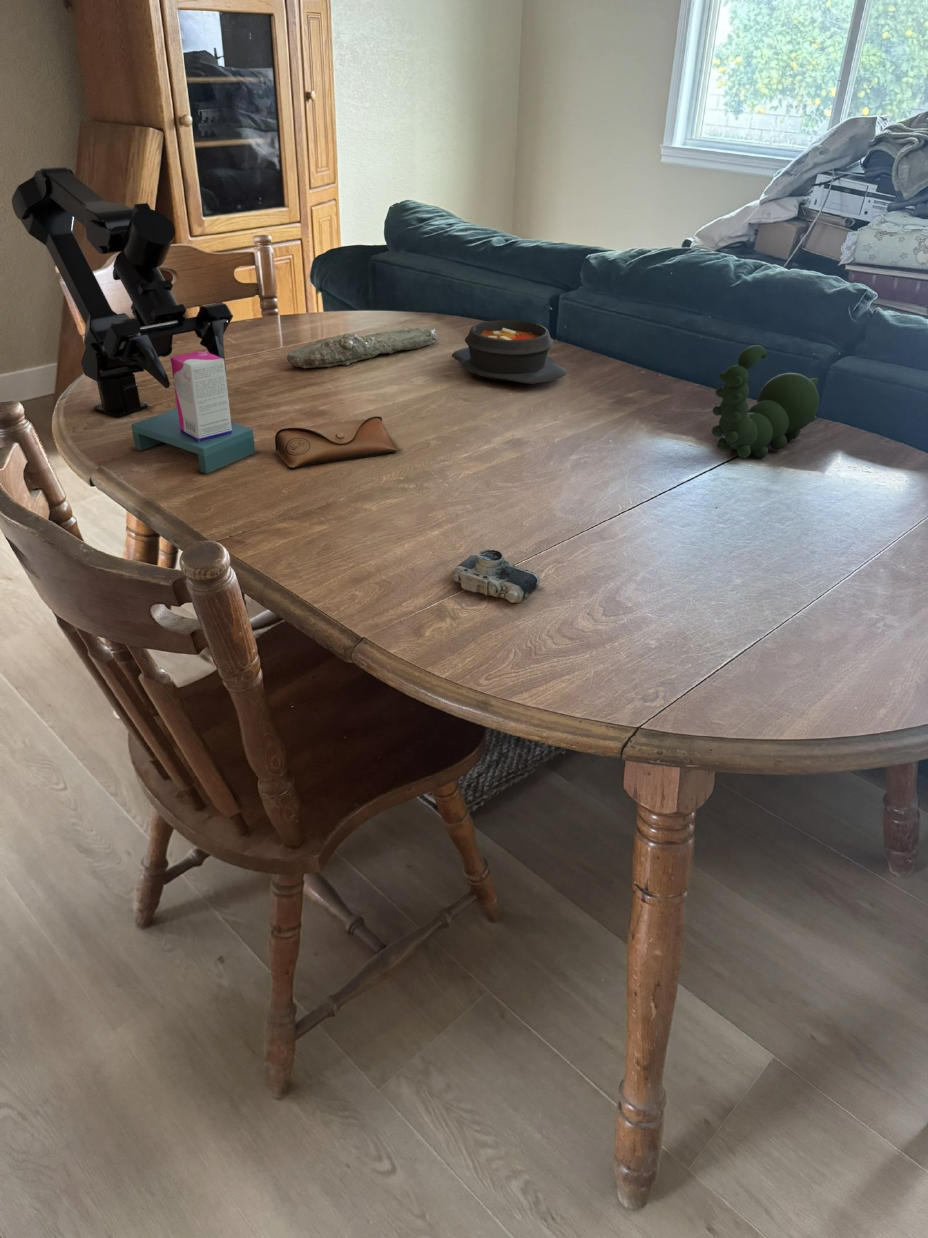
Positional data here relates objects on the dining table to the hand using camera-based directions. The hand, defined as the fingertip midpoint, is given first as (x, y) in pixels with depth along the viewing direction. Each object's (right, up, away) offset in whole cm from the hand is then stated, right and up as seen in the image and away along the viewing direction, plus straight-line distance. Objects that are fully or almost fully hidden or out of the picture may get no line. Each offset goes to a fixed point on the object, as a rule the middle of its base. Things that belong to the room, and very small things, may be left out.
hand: (196, 379), depth 133 cm
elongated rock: (+19, +19, +52) cm, 58 cm away
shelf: (-3, -9, +8) cm, 12 cm away
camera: (+43, -31, -25) cm, 59 cm away
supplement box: (0, -7, +4) cm, 8 cm away
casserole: (+48, +13, +44) cm, 66 cm away
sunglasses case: (+20, -9, +9) cm, 23 cm away
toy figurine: (+88, -7, +15) cm, 89 cm away
